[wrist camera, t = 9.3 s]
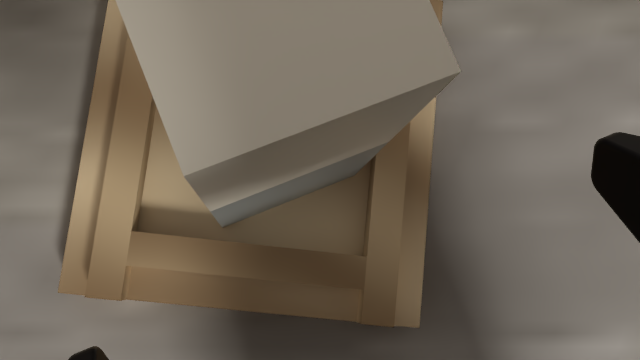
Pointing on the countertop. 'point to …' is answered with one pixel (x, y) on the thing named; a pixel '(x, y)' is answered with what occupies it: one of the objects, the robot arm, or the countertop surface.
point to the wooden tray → (248, 234)
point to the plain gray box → (284, 89)
